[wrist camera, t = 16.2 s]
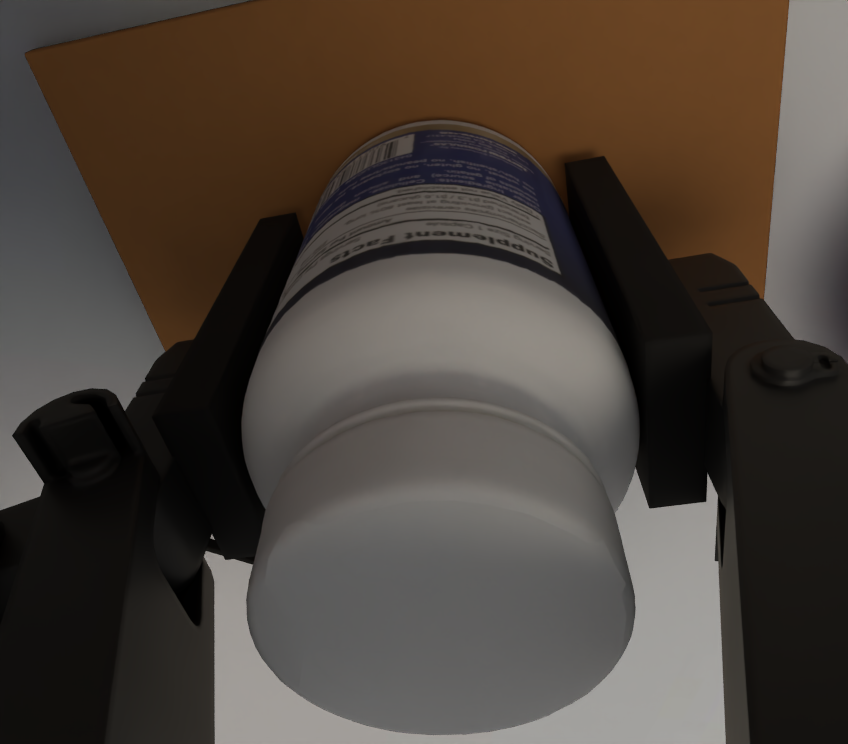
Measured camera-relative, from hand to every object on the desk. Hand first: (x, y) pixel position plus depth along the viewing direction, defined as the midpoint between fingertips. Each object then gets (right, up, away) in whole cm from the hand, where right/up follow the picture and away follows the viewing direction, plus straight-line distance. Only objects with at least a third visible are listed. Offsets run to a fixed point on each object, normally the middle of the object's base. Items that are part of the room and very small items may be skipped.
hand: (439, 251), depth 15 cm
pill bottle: (0, 0, +1) cm, 1 cm away
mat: (0, +1, +1) cm, 1 cm away
